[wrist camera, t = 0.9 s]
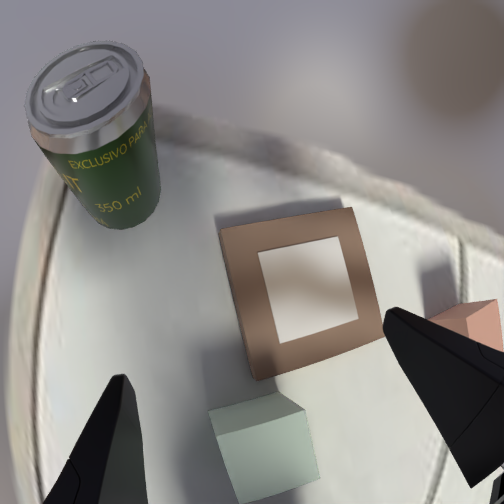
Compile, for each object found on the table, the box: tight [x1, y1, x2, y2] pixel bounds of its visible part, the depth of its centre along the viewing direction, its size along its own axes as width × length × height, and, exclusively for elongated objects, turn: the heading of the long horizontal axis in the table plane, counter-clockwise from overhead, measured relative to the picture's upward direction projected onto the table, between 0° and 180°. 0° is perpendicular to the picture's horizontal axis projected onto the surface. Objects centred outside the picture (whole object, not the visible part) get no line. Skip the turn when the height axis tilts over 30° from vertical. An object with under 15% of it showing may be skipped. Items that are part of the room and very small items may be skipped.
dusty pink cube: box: [428, 299, 504, 352], centre depth 22 cm, size 5×5×5 cm
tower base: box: [219, 207, 385, 381], centre depth 21 cm, size 10×10×1 cm
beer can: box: [24, 41, 161, 230], centre depth 15 cm, size 5×5×12 cm
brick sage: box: [208, 392, 320, 504], centre depth 17 cm, size 5×5×5 cm
